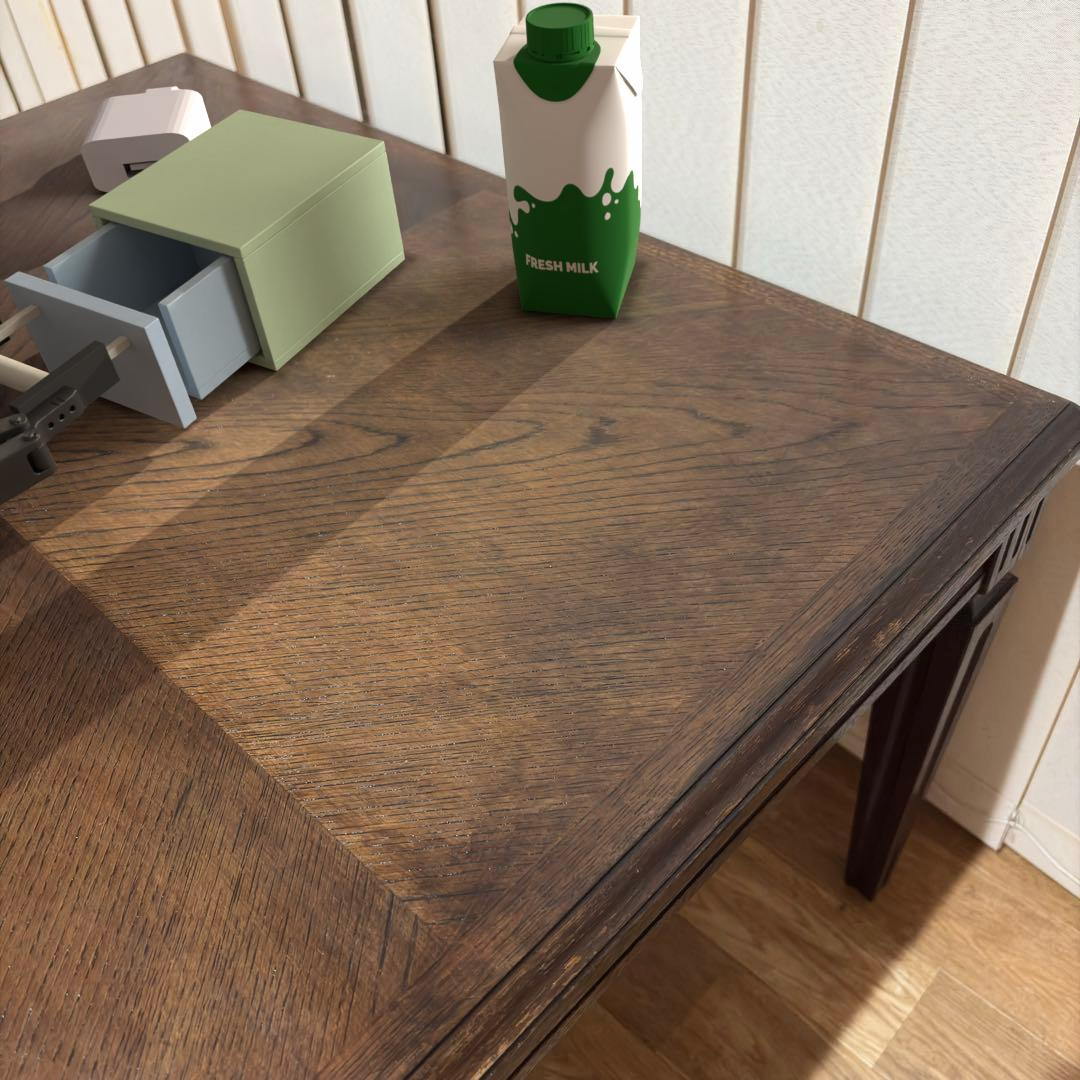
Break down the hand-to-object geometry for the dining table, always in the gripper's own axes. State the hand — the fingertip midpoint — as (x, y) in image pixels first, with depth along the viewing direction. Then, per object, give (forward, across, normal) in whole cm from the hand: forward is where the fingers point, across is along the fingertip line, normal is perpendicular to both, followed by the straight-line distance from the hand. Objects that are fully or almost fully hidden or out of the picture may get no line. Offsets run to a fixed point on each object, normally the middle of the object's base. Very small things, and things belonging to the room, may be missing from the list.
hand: (51, 339), depth 65 cm
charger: (+32, +25, +8) cm, 42 cm away
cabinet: (+18, 0, +8) cm, 20 cm away
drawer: (+6, 0, +7) cm, 9 cm away
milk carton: (+28, -21, +8) cm, 36 cm away
